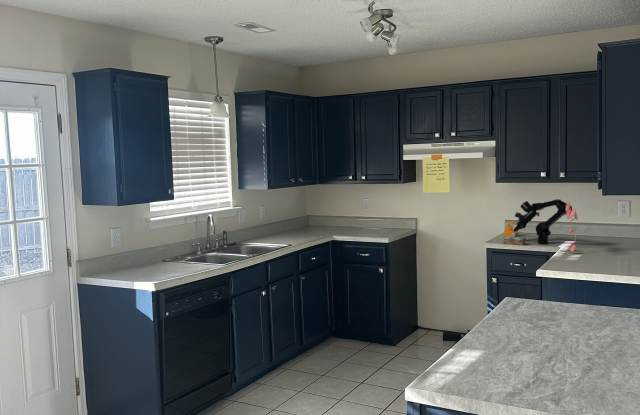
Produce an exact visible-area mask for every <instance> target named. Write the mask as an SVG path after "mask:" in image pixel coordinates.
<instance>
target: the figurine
mask: <svg viewBox="0 0 640 415" xmlns="http://www.w3.org/2000/svg"><path fill="white" fill-rule="evenodd" d="M566 203H567V206H566V209H565V210H566V212H567V214H566V218H567V219H568V220H570V219H571V220H570V222H569V228H570V229H568V230H569V233H571V234H572V235H574V236H575V237H574V242H570V245H569V246H568V247H567V248H568V250H569V249H570V250H569V252H570V251H573V252H574V251H575V249H576V251H575V252H577V251H578V250H577V248H576V239H577V235H576V234H575V233H574V229H573V228H572V226H571V222H573V220H574V221H575V220H577V221H578V220H579V219H578V214H577V212H576V211H577V210H576V208H573V209H572V211H571V208H570V205H571V202H570V201H568V200H566ZM572 217H574V218H572Z"/></svg>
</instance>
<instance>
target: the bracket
mask: <svg viewBox="0 0 640 415" xmlns="http://www.w3.org/2000/svg"><path fill="white" fill-rule="evenodd" d="M514 223H515V222H514V221H512V220H510V221H508V222H507V224H506V227H505V229H504V232H503V233H502V236H503V237H505V236H513V224H514ZM511 225H512V226H511Z"/></svg>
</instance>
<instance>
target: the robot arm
mask: <svg viewBox="0 0 640 415" xmlns="http://www.w3.org/2000/svg"><path fill="white" fill-rule="evenodd" d="M554 206H555V207H556V209H557V211H556V212H555V213H554V214H553V215H552V216H551V217H549V218H548V219H547V220H546V221H541V222H539V223H538V224H536V226H535V232H536V235H537V236H538V237H537V244H539V245H548V244H550V242H549V238H550V236H551V234H552V232H551V231H550V227H551V226H552V225H553V224H554V223H556V222H558V220H560V219H561V218H562V217H563V216H565V215H566V216H567V212H566V210H565V209H566V206H567V202H564V201H563V200H561V199H558V198H557V199H553V200H549V201H544V202H533V203H532V204H530V202H529V201H528V200H526V201H524V202H523V203H522V204H520V208H521V209H522V210H523V212H524V213H525V214H522V213H521V212H517V211H516V212H515V215H514V217H515V218H518V219H517V222H516V223H517V226H516V227H515V229H514V230H513V231H517V230H518V231H519V230H522V229H525V228H527V225H528V223H529V222H531V221H532V220H533V219H534V218H535V217H536V216H537V217H540V212H539V211H542V210H545V208H550V207H554ZM570 208H571V211H572V210H573V207H572V205H571V204H570Z"/></svg>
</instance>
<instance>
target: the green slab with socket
mask: <svg viewBox="0 0 640 415" xmlns="http://www.w3.org/2000/svg"><path fill="white" fill-rule="evenodd" d="M502 239H503V245H512V246H513V245H514V246H525V245H526V239H527V238H526V237H523V236H518V237H513V236H503V237H502Z"/></svg>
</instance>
